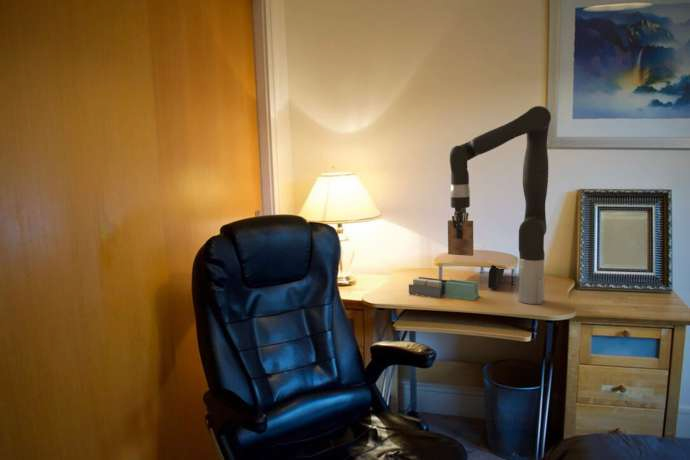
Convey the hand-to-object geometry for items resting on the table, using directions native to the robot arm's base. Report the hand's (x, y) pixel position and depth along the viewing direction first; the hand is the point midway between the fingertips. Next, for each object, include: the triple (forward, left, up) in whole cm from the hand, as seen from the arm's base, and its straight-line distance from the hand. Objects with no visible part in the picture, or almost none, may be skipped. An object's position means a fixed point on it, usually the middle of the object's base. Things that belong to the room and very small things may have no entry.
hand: (460, 238), depth 210 cm
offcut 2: (+10, +4, -23) cm, 26 cm away
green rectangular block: (-1, 0, -24) cm, 24 cm away
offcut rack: (+13, +2, -24) cm, 28 cm away
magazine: (-7, -29, -25) cm, 39 cm away
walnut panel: (0, 0, -7) cm, 7 cm away
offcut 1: (+16, +4, -23) cm, 29 cm away
